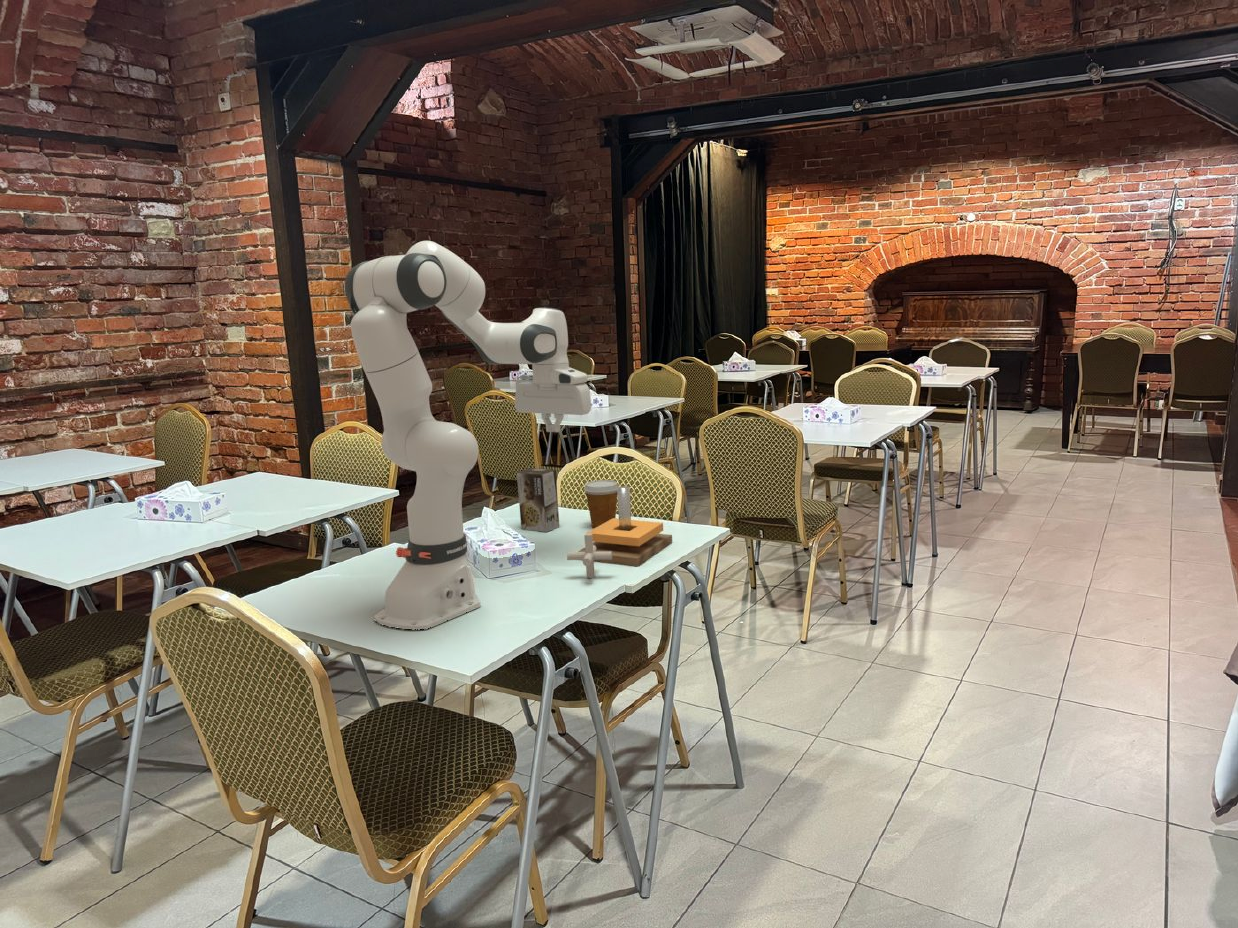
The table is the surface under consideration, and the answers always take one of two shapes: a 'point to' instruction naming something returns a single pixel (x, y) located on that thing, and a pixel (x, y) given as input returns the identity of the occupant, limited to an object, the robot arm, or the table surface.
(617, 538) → the orange collar
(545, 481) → the grey-brown upright rectangular box
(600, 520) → the disposable coffee cup
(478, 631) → the table surface
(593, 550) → the pipe connector
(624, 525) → the metal pipe
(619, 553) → the walnut base board
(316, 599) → the table surface
